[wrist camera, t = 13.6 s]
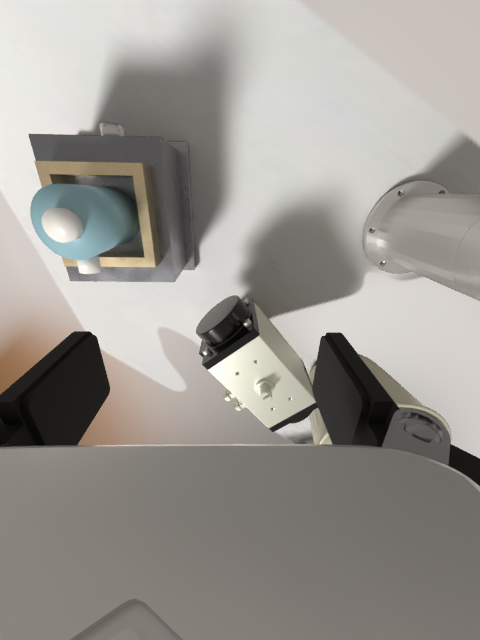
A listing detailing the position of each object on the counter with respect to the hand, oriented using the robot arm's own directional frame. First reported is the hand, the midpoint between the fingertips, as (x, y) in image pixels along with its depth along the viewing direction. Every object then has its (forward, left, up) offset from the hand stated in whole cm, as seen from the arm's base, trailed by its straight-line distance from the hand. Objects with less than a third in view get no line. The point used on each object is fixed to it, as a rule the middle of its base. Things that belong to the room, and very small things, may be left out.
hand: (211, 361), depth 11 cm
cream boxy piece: (-4, +14, -31) cm, 34 cm away
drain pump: (+12, -4, -20) cm, 24 cm away
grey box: (+12, -4, -30) cm, 33 cm away
